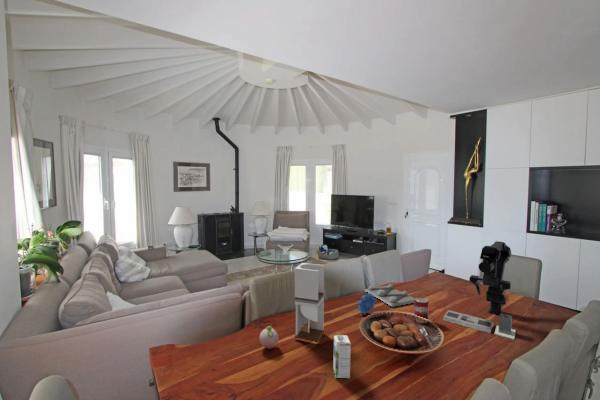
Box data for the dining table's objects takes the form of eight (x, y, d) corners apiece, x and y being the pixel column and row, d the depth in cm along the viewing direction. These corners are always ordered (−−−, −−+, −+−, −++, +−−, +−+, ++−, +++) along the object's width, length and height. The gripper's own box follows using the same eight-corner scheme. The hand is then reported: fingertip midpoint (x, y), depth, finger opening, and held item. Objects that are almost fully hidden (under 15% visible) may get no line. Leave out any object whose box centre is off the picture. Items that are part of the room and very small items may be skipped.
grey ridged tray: (419, 303, 182) (419, 292, 182) (391, 309, 175) (392, 297, 174) (388, 288, 210) (388, 278, 210) (363, 292, 202) (363, 282, 202)
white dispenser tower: (294, 340, 138) (294, 268, 137) (302, 329, 148) (302, 262, 147) (317, 344, 134) (317, 271, 133) (323, 333, 144) (323, 265, 143)
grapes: (371, 309, 173) (371, 289, 172) (377, 314, 167) (378, 293, 166) (354, 312, 169) (354, 292, 168) (360, 317, 163) (360, 296, 162)
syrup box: (332, 370, 116) (333, 335, 115) (347, 369, 116) (347, 334, 116) (335, 379, 110) (335, 342, 110) (350, 378, 111) (351, 342, 110)
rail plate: (448, 313, 167) (448, 309, 167) (493, 325, 153) (493, 321, 153) (443, 320, 159) (443, 316, 159) (490, 333, 145) (490, 329, 145)
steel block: (499, 328, 149) (500, 312, 149) (511, 331, 146) (512, 315, 146) (498, 332, 145) (499, 316, 145) (510, 335, 142) (511, 319, 142)
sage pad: (496, 326, 152) (496, 325, 152) (515, 331, 147) (515, 330, 147) (494, 334, 144) (494, 333, 144) (514, 339, 139) (514, 338, 139)
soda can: (429, 325, 153) (430, 303, 153) (415, 323, 155) (415, 302, 154) (426, 319, 160) (427, 298, 160) (412, 317, 162) (413, 297, 161)
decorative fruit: (257, 345, 134) (257, 324, 133) (274, 341, 137) (274, 321, 137) (262, 356, 125) (262, 333, 125) (280, 352, 128) (280, 330, 128)
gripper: (467, 269, 158) (467, 297, 159) (509, 276, 146) (508, 306, 147) (471, 265, 166) (470, 291, 167) (511, 271, 154) (510, 299, 155)
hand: (489, 297), depth 159 cm, fingers open, 9 cm apart
